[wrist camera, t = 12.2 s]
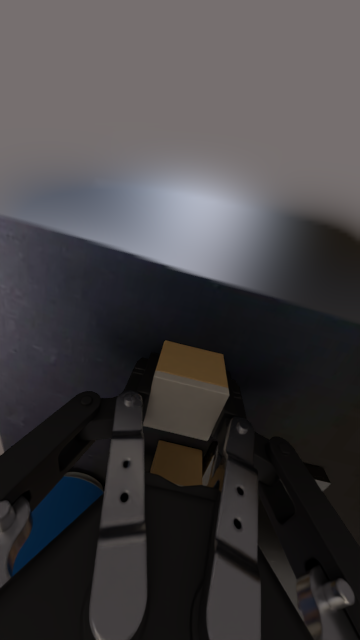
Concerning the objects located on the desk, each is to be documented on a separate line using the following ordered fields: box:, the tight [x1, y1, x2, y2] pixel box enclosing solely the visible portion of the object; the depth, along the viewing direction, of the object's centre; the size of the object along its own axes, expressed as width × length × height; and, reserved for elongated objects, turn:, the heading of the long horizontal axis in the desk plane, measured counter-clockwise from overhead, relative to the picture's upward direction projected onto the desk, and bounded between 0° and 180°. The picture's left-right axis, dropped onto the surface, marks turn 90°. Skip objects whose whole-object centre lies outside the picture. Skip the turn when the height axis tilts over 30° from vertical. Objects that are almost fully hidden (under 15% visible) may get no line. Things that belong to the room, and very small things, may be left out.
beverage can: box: [13, 472, 104, 576], centre depth 18 cm, size 6×6×12 cm
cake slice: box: [143, 340, 229, 441], centre depth 13 cm, size 4×4×4 cm
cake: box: [150, 440, 202, 486], centre depth 19 cm, size 4×10×4 cm, turn 167°
